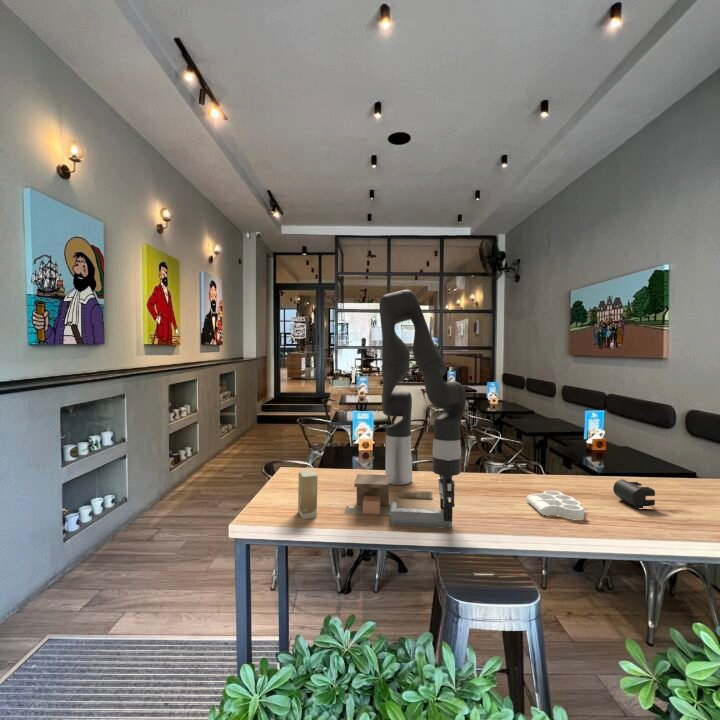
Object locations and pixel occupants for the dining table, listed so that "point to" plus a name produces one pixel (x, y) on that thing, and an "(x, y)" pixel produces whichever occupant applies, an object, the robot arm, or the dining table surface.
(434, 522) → the crook
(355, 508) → the green flat plank
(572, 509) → the white segmented tray
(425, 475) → the dining table surface
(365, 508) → the block
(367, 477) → the brown wooden box
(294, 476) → the dining table surface
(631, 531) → the dining table surface
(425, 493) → the dowel
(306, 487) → the skincare box
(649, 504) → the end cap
